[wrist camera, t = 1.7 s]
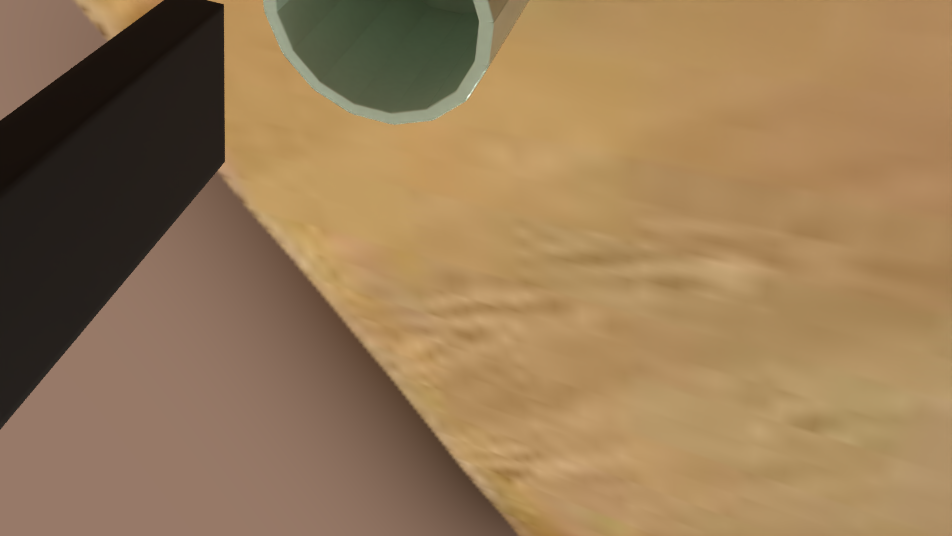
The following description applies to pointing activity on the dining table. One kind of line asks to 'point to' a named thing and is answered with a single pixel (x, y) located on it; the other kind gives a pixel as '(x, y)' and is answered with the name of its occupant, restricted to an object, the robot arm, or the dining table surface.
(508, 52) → the dining table surface
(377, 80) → the cup
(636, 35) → the dining table surface
